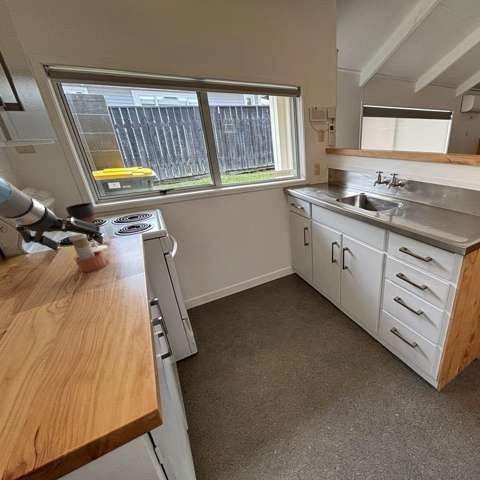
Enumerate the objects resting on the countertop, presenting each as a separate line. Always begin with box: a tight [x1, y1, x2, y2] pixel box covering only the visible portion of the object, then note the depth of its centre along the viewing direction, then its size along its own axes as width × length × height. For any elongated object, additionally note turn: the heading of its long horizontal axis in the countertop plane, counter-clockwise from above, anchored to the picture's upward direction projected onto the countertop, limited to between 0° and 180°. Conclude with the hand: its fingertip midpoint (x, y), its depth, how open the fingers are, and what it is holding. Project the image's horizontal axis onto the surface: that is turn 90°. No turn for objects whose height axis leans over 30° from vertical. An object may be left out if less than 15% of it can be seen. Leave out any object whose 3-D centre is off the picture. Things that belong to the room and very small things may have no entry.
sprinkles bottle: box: [68, 232, 95, 260], centre depth 95 cm, size 5×5×13 cm
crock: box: [74, 250, 107, 273], centre depth 97 cm, size 8×8×5 cm
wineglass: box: [65, 202, 108, 252], centre depth 112 cm, size 8×9×20 cm
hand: (79, 243), depth 93 cm, fingers open, 13 cm apart
